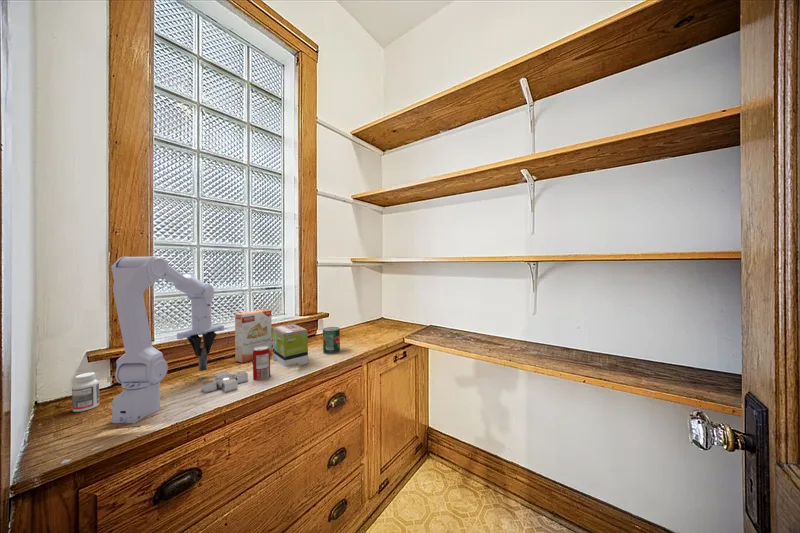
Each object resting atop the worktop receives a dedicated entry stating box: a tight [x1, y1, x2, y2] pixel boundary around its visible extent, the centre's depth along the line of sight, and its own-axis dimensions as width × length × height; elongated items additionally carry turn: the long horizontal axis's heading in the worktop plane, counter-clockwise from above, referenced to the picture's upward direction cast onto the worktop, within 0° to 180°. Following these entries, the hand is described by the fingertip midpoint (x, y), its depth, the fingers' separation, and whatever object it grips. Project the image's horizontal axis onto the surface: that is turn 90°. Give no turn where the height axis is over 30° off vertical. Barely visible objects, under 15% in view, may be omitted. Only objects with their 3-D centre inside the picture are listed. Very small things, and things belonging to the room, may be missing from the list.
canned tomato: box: [322, 326, 341, 355], centre depth 134 cm, size 8×8×11 cm
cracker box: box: [234, 309, 273, 364], centre depth 127 cm, size 14×6×21 cm, turn 148°
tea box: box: [271, 323, 309, 367], centre depth 120 cm, size 15×10×15 cm, turn 42°
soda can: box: [252, 346, 271, 381], centre depth 101 cm, size 6×6×12 cm
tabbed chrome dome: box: [201, 370, 249, 394], centre depth 95 cm, size 13×13×3 cm
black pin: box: [198, 345, 208, 372], centre depth 102 cm, size 2×2×8 cm
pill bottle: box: [71, 371, 101, 413], centre depth 83 cm, size 5×5×10 cm
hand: (202, 354), depth 102 cm, fingers closed on black pin, 2 cm apart
